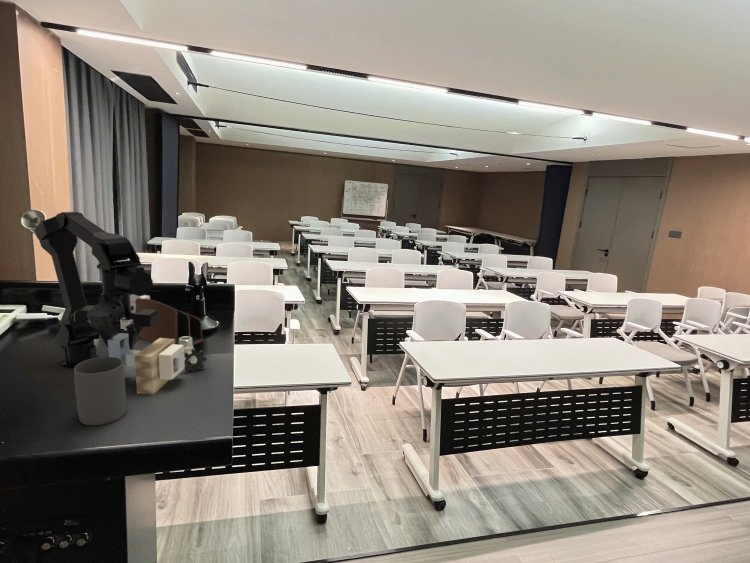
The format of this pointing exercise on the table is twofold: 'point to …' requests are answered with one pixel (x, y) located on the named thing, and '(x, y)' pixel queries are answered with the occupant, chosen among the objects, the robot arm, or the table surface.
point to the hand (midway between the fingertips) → (120, 348)
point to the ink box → (133, 303)
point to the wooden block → (150, 367)
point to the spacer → (169, 361)
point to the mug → (100, 390)
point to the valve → (191, 354)
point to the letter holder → (169, 323)
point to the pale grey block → (132, 352)
